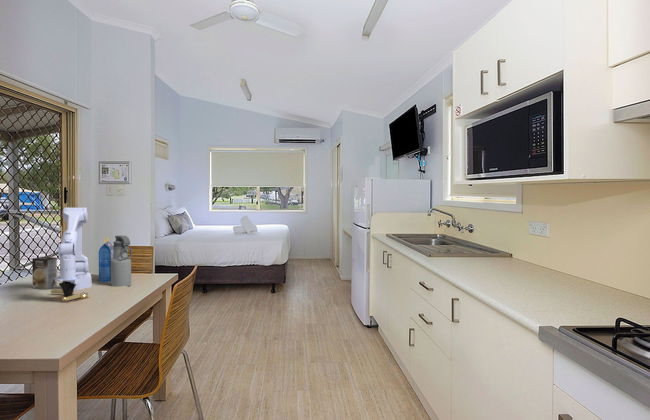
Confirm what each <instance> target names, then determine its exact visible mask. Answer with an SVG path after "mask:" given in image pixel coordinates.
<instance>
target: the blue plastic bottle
mask: <svg viewBox="0 0 650 420" xmlns="http://www.w3.org/2000/svg"><path fill="white" fill-rule="evenodd" d="M112 259H114V245H113V244H112V243H111V242H109V237H108V236H107V237H106V238H104V244H103V245H102V246H101V247H100V248H99V250H98V281H99V282H103V283H106V282H111V260H112Z"/></svg>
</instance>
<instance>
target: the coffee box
mask: <svg viewBox="0 0 650 420" xmlns="http://www.w3.org/2000/svg"><path fill="white" fill-rule="evenodd" d="M31 261H32V262H31V263H32V264H31V267H32V269H31V270H32V273H31V274H32V289H39V290H40V289H43V290H49V289H52V288H55V287H57V286H58V285H57V284H58V281H57V277H58V275H57V274H58V267H57V266H58V257H53V256H39V257H35V258H34V257H33V258H32V260H31Z"/></svg>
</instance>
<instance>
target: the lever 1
mask: <svg viewBox="0 0 650 420" xmlns="http://www.w3.org/2000/svg"><path fill="white" fill-rule="evenodd" d="M50 294H59V295H64V293H63V290H62V288H61V289H59V288H58V289H54V288H53V289H51V290H50ZM74 294H75V290H73V293H72V295H74Z"/></svg>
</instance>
